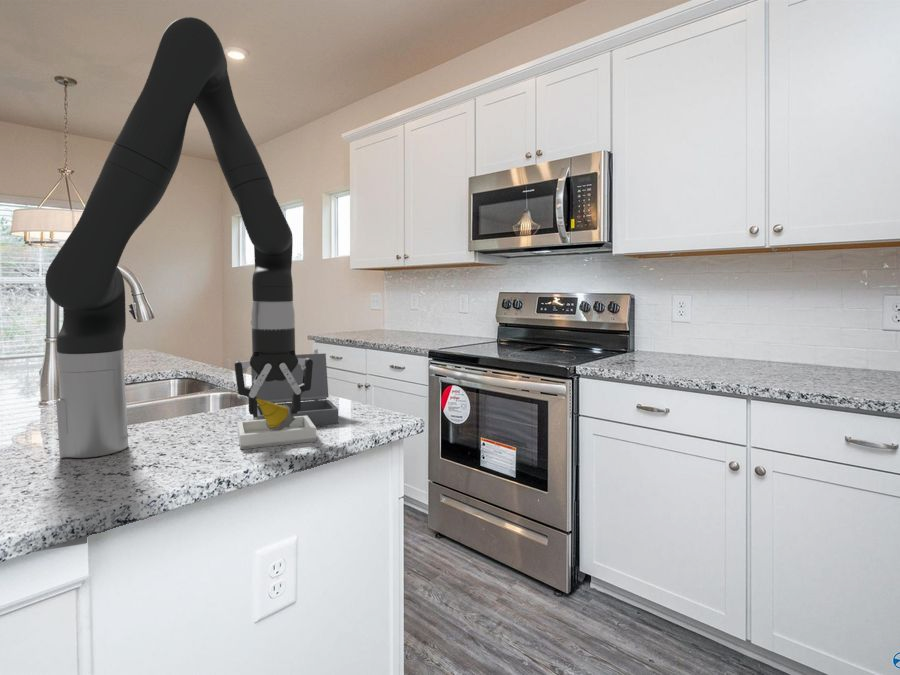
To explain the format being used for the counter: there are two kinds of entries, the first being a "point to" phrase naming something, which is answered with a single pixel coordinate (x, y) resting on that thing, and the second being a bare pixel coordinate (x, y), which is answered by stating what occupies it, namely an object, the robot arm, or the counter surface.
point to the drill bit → (276, 415)
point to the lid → (283, 390)
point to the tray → (275, 433)
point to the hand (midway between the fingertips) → (275, 414)
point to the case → (312, 411)
